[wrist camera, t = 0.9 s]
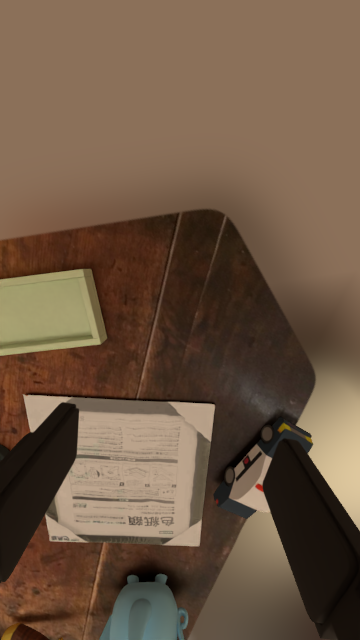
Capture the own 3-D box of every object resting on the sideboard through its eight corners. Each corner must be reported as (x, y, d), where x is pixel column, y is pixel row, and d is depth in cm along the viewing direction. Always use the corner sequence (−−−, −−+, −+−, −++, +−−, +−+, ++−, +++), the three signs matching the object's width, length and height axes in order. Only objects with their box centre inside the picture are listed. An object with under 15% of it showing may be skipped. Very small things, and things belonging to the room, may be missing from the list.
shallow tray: (-69, 289, 23) (-93, 291, 21) (91, 268, 22) (82, 268, 20) (-39, 354, 25) (-58, 362, 23) (107, 338, 24) (100, 344, 22)
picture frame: (216, 404, 26) (199, 547, 34) (215, 402, 27) (199, 544, 34) (21, 395, 26) (49, 542, 34) (23, 393, 26) (50, 539, 34)
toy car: (303, 425, 28) (331, 458, 23) (236, 496, 31) (249, 538, 26) (277, 410, 27) (300, 441, 22) (211, 485, 30) (219, 526, 25)
